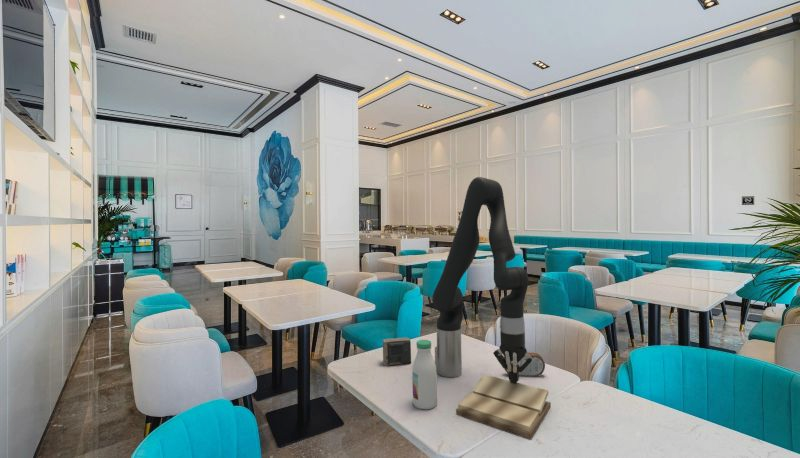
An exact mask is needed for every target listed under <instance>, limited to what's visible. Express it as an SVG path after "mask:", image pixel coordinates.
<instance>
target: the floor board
mask: <svg viewBox="0 0 800 458" xmlns="http://www.w3.org/2000/svg"><path fill="white" fill-rule="evenodd" d="M457 405H458V407H457V408H456V409H455V415H457V416H460V417H463V418H466V419H469V420H472V421H475V422H477V423H480V424H484V425H486V426H489V427H492V428H495V429H498V430H501V431H504V432H508V433H510V434H513V435H516V436H518V437H522V438H525V439H527V438H528V440H532V438H533V436H535V434H536V431H537V430H538V428H539V427H540V425H541V423H542V422H543V420H544V419H545V417H546V416H547V414H548V412H549V410H551V408H552V407H551V406H552V405H551V401H547V400H546V402H545V404H544V407H543V409H542V412H541V414H539V412H537V411H533V410H530V409H526V408H523V407H519V406H516V405H512V404H509V403H506V402H502V401H499V400H495V399H492V398H488V397H485V396H481V395H478V394H475V393H473V392H470V393H469V394H468V395H467V396H466V397H465V398H463V399H462V400H461V401H460V402H459V403H458V404H457Z"/></svg>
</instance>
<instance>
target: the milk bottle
mask: <svg viewBox="0 0 800 458" xmlns="http://www.w3.org/2000/svg"><path fill="white" fill-rule="evenodd" d="M431 349H432V341H430V339H429V340H428V339H419V340H417V341H416V350H417V352H416V355H415V358H414V360H413V363H412V371H411V372H412V373H411V374H412V380H411V381H412V403H413V404H412V405H413V406H414V407H415V408H417V409H419V410H431V409H434V408H435V407H436V406H437V404H438V380H437V379H438V378H437V377H438V376H437V374H438V373H437V372H436V364H435V358H433V357H434V356H433V354H432V351H431Z"/></svg>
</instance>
